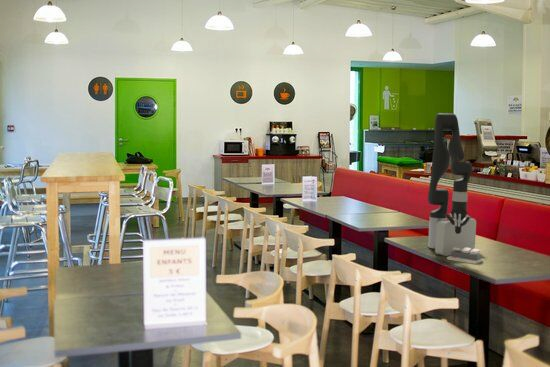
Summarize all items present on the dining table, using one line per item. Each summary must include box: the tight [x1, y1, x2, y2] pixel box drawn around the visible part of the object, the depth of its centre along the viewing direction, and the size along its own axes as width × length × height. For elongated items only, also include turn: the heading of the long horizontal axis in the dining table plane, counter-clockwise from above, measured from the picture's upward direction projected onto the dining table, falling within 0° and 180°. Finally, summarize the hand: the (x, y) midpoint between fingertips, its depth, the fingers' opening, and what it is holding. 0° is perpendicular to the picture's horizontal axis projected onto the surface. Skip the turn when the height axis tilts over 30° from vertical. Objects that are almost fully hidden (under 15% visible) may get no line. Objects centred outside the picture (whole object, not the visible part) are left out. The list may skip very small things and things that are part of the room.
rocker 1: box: [462, 247, 471, 253], centre depth 346 cm, size 5×3×1 cm, turn 142°
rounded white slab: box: [434, 217, 477, 257], centre depth 364 cm, size 29×8×18 cm, turn 129°
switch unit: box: [446, 250, 484, 265], centre depth 345 cm, size 10×15×4 cm, turn 52°
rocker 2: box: [470, 248, 481, 254], centre depth 343 cm, size 5×3×1 cm, turn 142°
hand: (457, 233), depth 346 cm, fingers closed
